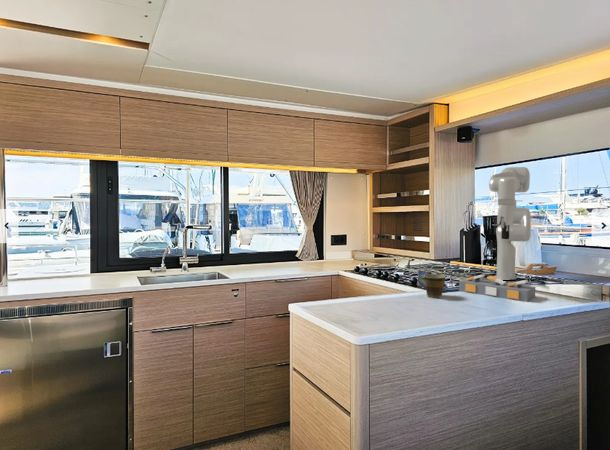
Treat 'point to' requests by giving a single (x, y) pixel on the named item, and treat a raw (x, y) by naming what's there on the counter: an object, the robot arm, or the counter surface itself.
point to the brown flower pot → (433, 285)
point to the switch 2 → (496, 280)
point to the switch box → (497, 289)
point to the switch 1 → (476, 277)
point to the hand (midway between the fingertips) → (505, 238)
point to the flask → (421, 274)
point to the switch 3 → (517, 283)
